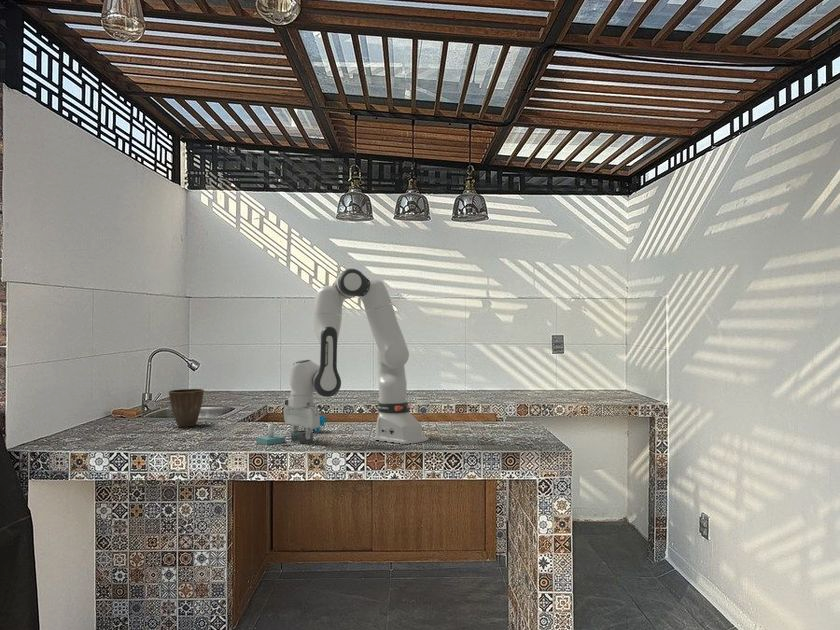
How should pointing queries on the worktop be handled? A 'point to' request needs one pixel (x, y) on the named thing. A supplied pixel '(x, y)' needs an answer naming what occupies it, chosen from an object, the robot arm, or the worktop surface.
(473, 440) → the worktop surface
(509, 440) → the worktop surface
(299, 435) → the collar
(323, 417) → the blue toy dinosaur
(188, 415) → the plant pot
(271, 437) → the shaft block
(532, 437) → the worktop surface
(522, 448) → the worktop surface
